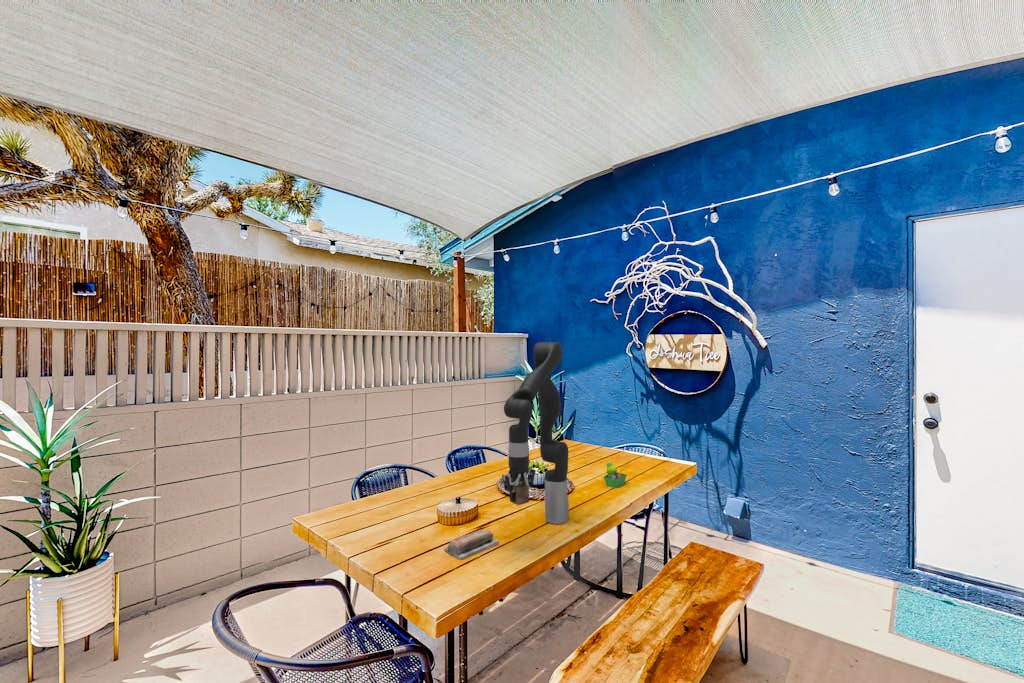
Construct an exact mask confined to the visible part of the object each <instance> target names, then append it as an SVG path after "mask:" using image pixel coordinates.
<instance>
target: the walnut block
mask: <svg viewBox="0 0 1024 683" xmlns="http://www.w3.org/2000/svg"><path fill="white" fill-rule="evenodd" d="M512 488H513V486H512ZM515 492H516V502H515V503H513V502H511V500H510V499H509V502H510V503H513V504H514V505H516V506H521V505H524V504H528V503H529V502H530V495H529V494H530V487H529V486H528V485H525V484H522V482H519V483H518V486H517V487H516V490H515Z"/></svg>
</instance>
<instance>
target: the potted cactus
mask: <svg viewBox="0 0 1024 683" xmlns="http://www.w3.org/2000/svg"><path fill="white" fill-rule="evenodd" d="M606 473H607V474H606V475H603V479H604V482H605V486H606V487H609V488H612V487H613V489H616V488H619V487H621V486H623V485H625V483H626V479H627V477H628V476H627V474H625V473H621V472H618V467H616V466H615V465H614V464H613V463H612V462H607V464H606Z"/></svg>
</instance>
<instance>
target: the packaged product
mask: <svg viewBox="0 0 1024 683" xmlns="http://www.w3.org/2000/svg"><path fill="white" fill-rule="evenodd" d="M499 544H500V540H498V539H495V538H494V533H493V532H492V531H491V530H489V529H479V530H476V531H473V532H471V533H469V534H465V535H462V536H460V537H459V536H458V537H457V538H454V539H450V540H449V542H448V546H447V547H445V548H444V549H443V550H444V552H446V553H447V554H449V555H450V556H452V557H454V558H456V559H457V560H459V561H462V560H465V559H467V558H469V557H472V556H475V555H477V554H479V553H482V552H485V551H487V550H490V549H491V548H493V547H496V546H498V545H499Z"/></svg>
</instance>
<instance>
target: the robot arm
mask: <svg viewBox="0 0 1024 683" xmlns="http://www.w3.org/2000/svg"><path fill="white" fill-rule="evenodd" d="M562 357H563V347H562V345H561V344H560V343H559V342H555V341H550V342H549V341H545V342H544V341H541V342H536V343H535V345H534V348H533V363H534V368H535V369H533V370H532V371H531V372H529V373H528V374H527V375H526V376H525V378H524V379H523V380H522V381H521V384H520V386H519V388H518V389H517V390H516V391H515V392H513V393H512V394H511V395H510V396H509V397H508V398H507V399H506V401H505V403H504V406H503V413H504V415H505V416H506V417H508V418H511V419H517V420H519V421H518V423H516V424H512V425H510V426H509V429H508V449H507V450H508V468H509V470H508V473H506V474H502V475H501V478H502V482H503V484H502V485H503V487H504V490H505V491H506V492H508V493H509V501H510V500H511V502H510V503H512V502H513V504H514V503H515V502H516V492H515V490H516V487H517V486H518V483H520V482H521V483H522V484H525V485H528V486H529V488H530V487H533V485H534V480H535V475H536V470H535V469H533V468H531V467H530V447H529V446H530V445H529V428H530V424H531V419H532V416H533V413H534V412H533V411H534V410H533V409H534V408H533V405H532V403H531V402H532V401H534V400H535V398H536V396H537V395H538V396H537V398H538V410H539V426H540V436H539V437H540V438H539V440H540V441H539V442H540V443H539V444H540V445H539V450H540V452H539V453H540V457H541V459H542V461H544V462H547V463H550V464H554V468H553V469H549V470H546V471H545V472H544V520H546V521H547V522H546V521H545V522H546V523H548V522H549V523H548V524H551V523H553V524H552V525H560V524H561V523H563V524H565V523H567V521H568V520H570V516H569V515H570V508H569V506H570V504H569V497H568V494H567V493H568V491H567V490H568V486H567V484H568V482H567V481H568V479H567V478H568V476H567V475H568V469H569V448H568V445H567V443H566V442H564V441H559V440H554V439H553V429H554V426H555V424H556V422H557V419H558V418H559V416H560V414H561V412H562V403H561V395H560V394H561V393H560V392H559V389H558V388H557V387H556V385H555V383H554V382H553V381H552V378H551V377H550V374H552V372H553V371H554V370H555V368H556V367H557V366H558V365H559V363H560V361H561V360H562ZM529 467H530V468H529ZM512 486H513V488H512ZM567 519H568V520H567ZM564 522H565V523H564ZM561 525H562V524H561Z"/></svg>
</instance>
